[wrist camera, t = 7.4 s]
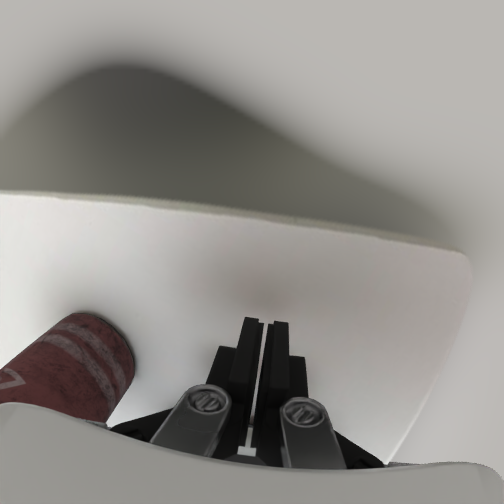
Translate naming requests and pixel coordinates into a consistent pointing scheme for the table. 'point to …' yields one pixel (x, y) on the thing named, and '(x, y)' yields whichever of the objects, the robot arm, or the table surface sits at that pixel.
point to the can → (71, 369)
